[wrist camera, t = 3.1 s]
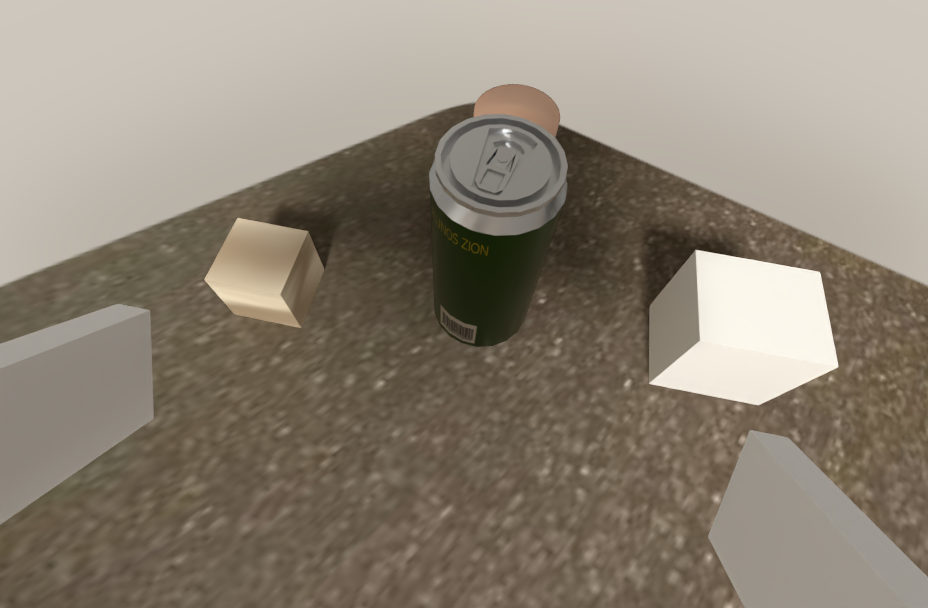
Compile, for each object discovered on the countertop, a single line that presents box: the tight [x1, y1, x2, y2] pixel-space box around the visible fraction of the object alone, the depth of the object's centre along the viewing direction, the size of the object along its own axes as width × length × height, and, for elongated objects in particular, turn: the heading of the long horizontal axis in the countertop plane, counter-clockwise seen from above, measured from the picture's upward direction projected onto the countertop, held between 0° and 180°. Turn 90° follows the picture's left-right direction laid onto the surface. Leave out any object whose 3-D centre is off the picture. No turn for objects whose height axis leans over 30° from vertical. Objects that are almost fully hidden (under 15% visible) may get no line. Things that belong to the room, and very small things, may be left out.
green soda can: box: [429, 114, 568, 347], centre depth 23 cm, size 5×5×12 cm
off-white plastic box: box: [649, 250, 838, 405], centre depth 25 cm, size 5×6×6 cm
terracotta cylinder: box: [474, 84, 560, 137], centre depth 30 cm, size 5×5×6 cm
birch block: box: [204, 218, 324, 328], centre depth 26 cm, size 4×4×4 cm
